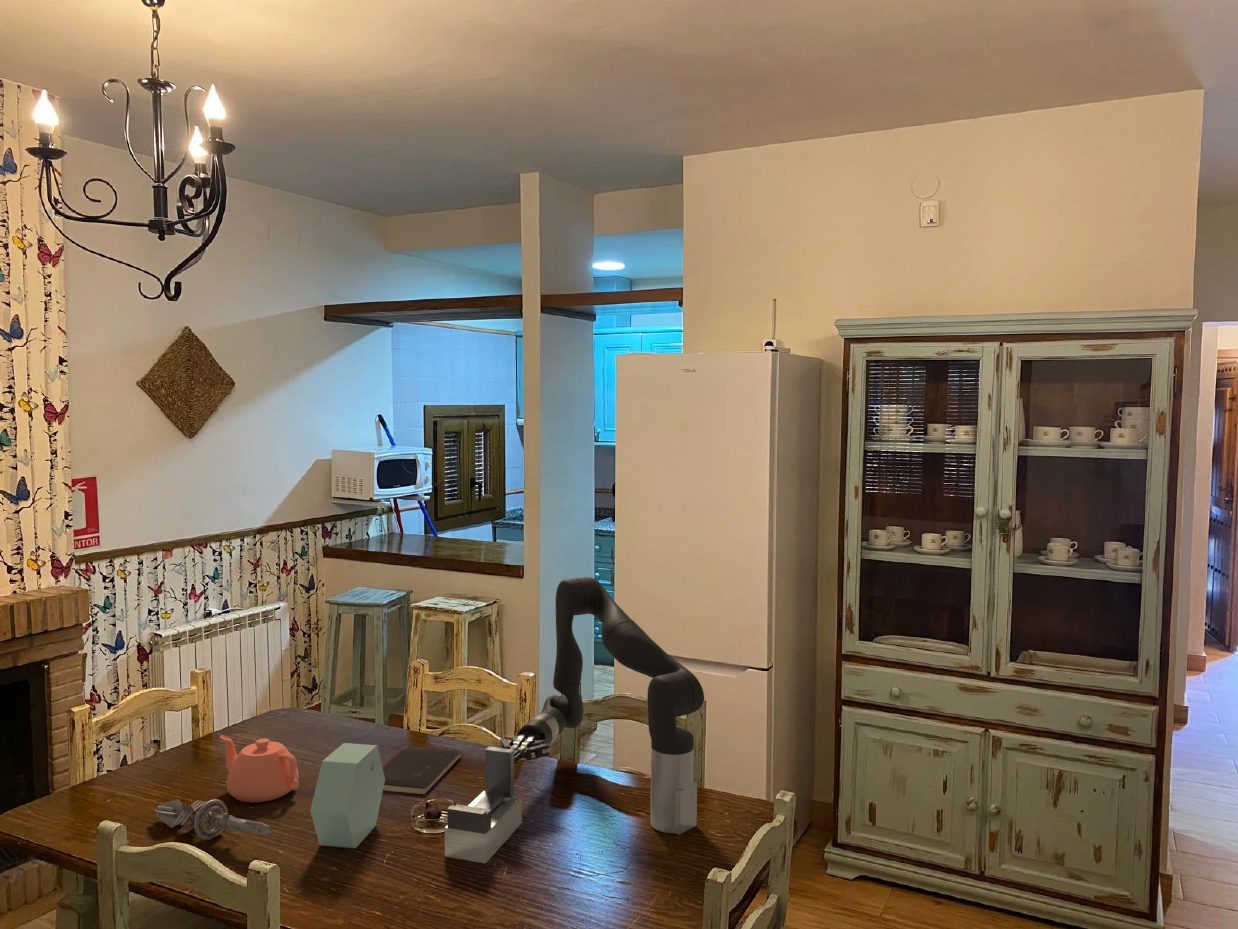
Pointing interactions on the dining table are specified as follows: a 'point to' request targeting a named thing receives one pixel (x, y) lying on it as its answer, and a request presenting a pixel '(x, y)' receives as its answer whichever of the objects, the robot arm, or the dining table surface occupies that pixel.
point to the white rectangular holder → (480, 828)
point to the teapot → (260, 771)
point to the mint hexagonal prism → (348, 795)
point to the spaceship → (206, 818)
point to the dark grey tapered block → (497, 777)
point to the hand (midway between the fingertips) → (509, 761)
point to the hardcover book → (417, 768)
